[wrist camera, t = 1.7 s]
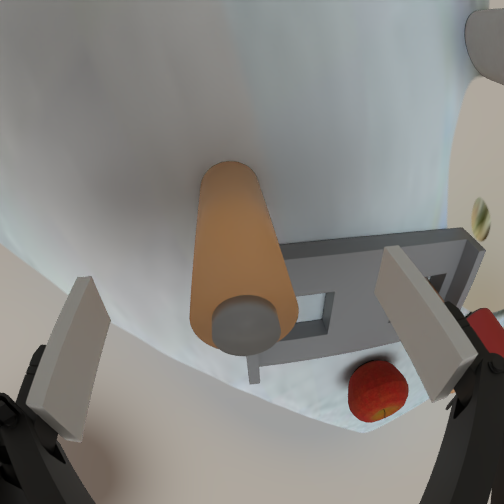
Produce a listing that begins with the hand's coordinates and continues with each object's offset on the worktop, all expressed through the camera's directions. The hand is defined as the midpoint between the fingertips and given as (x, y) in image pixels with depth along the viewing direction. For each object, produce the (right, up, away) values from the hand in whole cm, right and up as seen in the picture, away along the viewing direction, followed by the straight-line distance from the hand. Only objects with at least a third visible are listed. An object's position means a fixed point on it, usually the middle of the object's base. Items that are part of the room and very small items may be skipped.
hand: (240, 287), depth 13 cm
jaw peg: (-1, +6, +8) cm, 10 cm away
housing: (+10, -3, +15) cm, 18 cm away
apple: (+16, -14, +23) cm, 31 cm away
